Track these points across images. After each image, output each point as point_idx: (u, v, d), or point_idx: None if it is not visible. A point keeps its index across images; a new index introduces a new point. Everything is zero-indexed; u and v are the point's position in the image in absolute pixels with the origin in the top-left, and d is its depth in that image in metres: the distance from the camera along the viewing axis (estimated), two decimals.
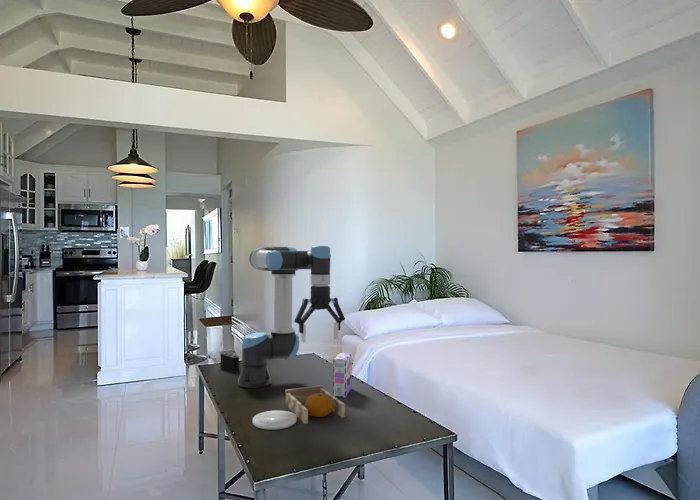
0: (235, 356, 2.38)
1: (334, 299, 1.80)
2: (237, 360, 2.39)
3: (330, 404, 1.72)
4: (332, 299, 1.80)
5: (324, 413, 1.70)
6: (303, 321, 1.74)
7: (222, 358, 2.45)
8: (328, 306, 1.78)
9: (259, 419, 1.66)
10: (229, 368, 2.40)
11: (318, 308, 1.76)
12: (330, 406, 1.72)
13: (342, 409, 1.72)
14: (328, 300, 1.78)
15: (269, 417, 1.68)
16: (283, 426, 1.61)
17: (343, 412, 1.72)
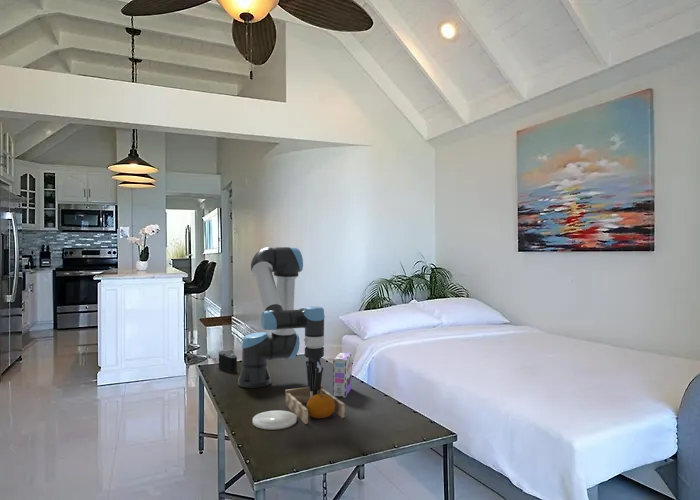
0: (233, 356, 2.37)
1: None
2: (235, 360, 2.38)
3: (332, 405, 1.71)
4: (317, 366, 1.75)
5: (326, 414, 1.69)
6: (310, 385, 1.80)
7: (220, 358, 2.44)
8: (311, 369, 1.78)
9: (259, 419, 1.66)
10: (227, 368, 2.39)
11: (310, 368, 1.80)
12: (332, 407, 1.71)
13: (342, 409, 1.72)
14: (314, 363, 1.76)
15: (269, 417, 1.68)
16: (283, 426, 1.61)
17: (343, 412, 1.72)
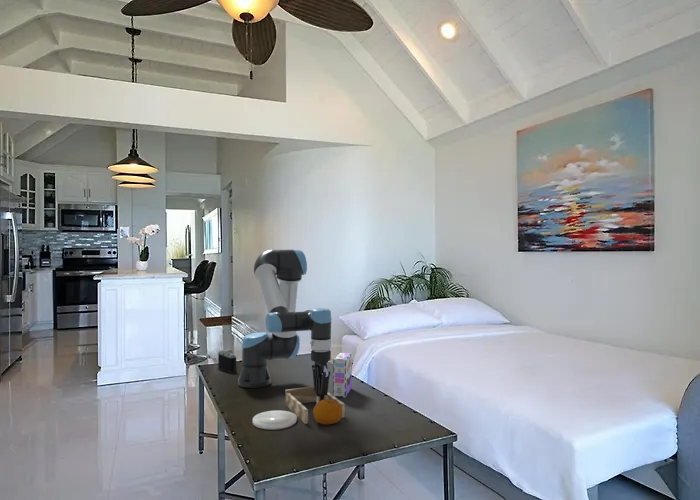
0: (232, 356, 2.37)
1: None
2: (235, 360, 2.38)
3: (340, 411, 1.65)
4: (324, 370, 1.69)
5: (333, 420, 1.63)
6: (316, 390, 1.74)
7: (220, 358, 2.44)
8: (317, 374, 1.71)
9: (259, 419, 1.66)
10: (226, 368, 2.39)
11: None
12: (340, 413, 1.65)
13: (342, 409, 1.72)
14: (321, 367, 1.70)
15: (269, 417, 1.68)
16: (283, 426, 1.61)
17: (343, 412, 1.72)
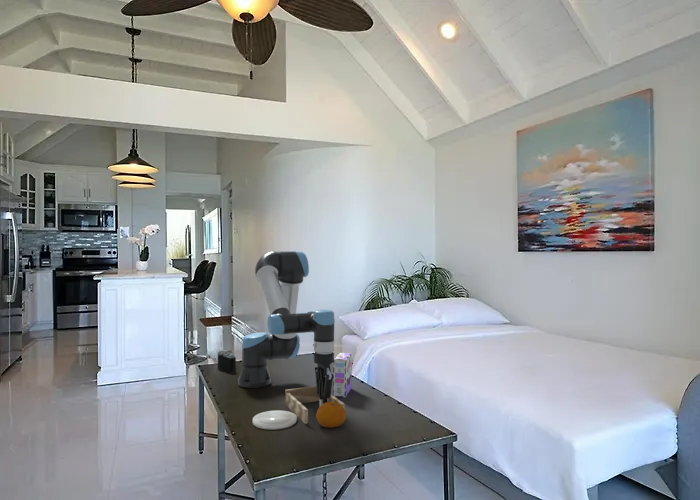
0: (232, 356, 2.37)
1: None
2: (234, 360, 2.38)
3: (343, 413, 1.62)
4: (327, 373, 1.66)
5: (337, 423, 1.60)
6: (319, 393, 1.71)
7: (219, 358, 2.44)
8: (320, 376, 1.69)
9: (259, 419, 1.66)
10: (226, 368, 2.39)
11: None
12: (343, 416, 1.62)
13: None
14: (324, 369, 1.68)
15: (269, 417, 1.68)
16: (283, 426, 1.61)
17: None
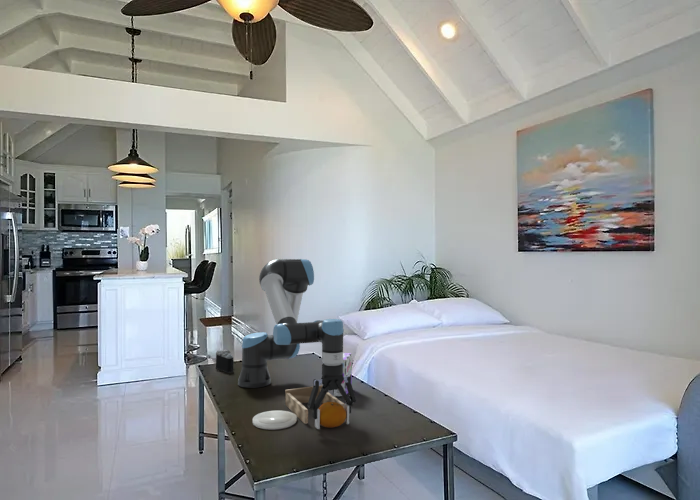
0: (229, 357, 2.37)
1: (347, 378, 1.65)
2: (232, 360, 2.37)
3: (343, 413, 1.62)
4: (345, 378, 1.65)
5: (337, 423, 1.60)
6: (317, 406, 1.60)
7: (217, 358, 2.44)
8: (340, 386, 1.63)
9: (259, 419, 1.66)
10: (224, 369, 2.39)
11: (330, 389, 1.62)
12: (343, 416, 1.62)
13: None
14: (341, 379, 1.64)
15: (269, 417, 1.68)
16: (283, 426, 1.61)
17: None
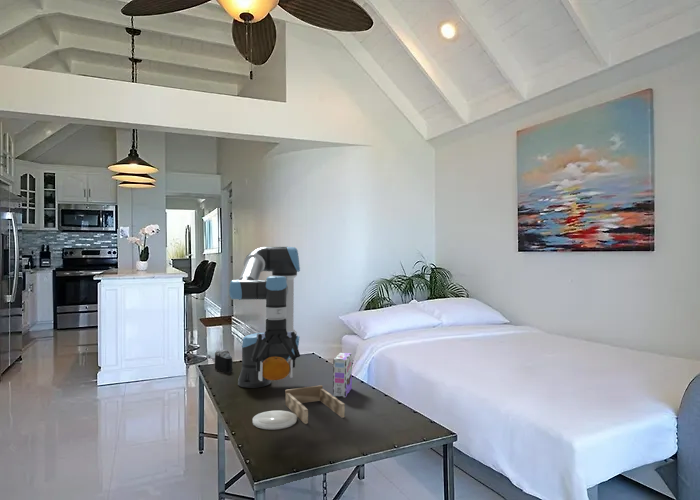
0: (228, 357, 2.36)
1: (291, 333, 1.70)
2: (230, 360, 2.37)
3: (286, 367, 1.67)
4: (289, 333, 1.70)
5: (279, 376, 1.65)
6: (259, 359, 1.65)
7: (216, 359, 2.44)
8: (283, 341, 1.68)
9: (259, 419, 1.66)
10: (222, 369, 2.38)
11: (273, 343, 1.67)
12: (286, 369, 1.67)
13: (342, 409, 1.72)
14: (284, 334, 1.69)
15: (269, 417, 1.68)
16: (283, 426, 1.61)
17: (343, 412, 1.72)
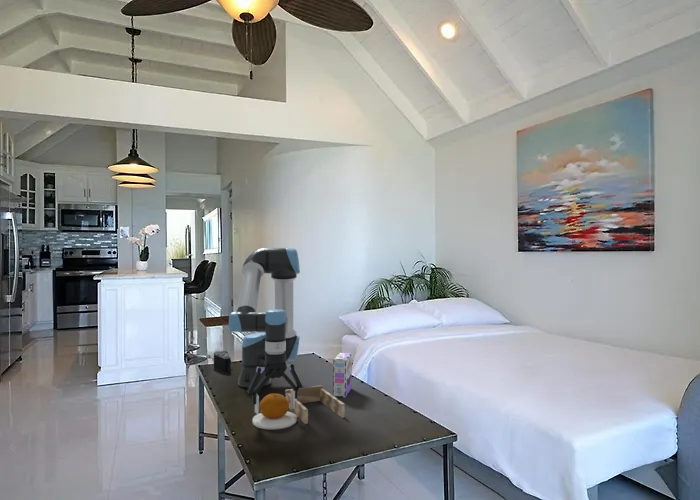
0: (226, 357, 2.36)
1: (290, 366, 1.70)
2: (229, 361, 2.36)
3: (285, 405, 1.67)
4: (288, 366, 1.70)
5: (279, 414, 1.65)
6: (256, 392, 1.64)
7: (215, 359, 2.43)
8: (283, 374, 1.68)
9: (259, 419, 1.66)
10: (221, 369, 2.38)
11: (273, 377, 1.67)
12: (285, 407, 1.67)
13: (342, 409, 1.72)
14: (284, 368, 1.69)
15: None
16: (283, 426, 1.61)
17: (343, 412, 1.72)
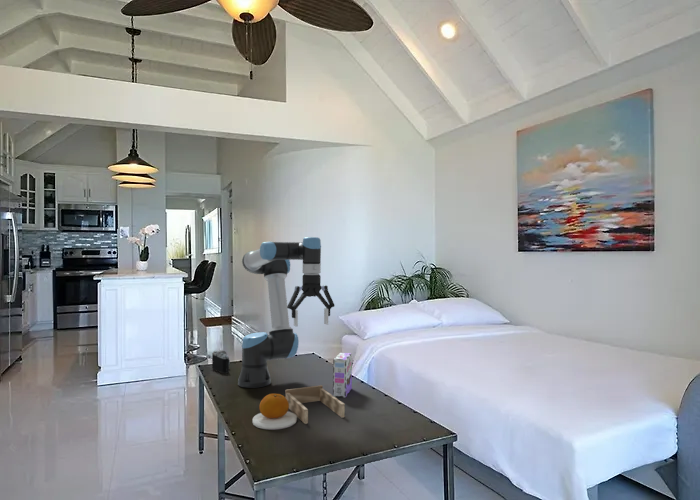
0: (225, 357, 2.35)
1: (324, 287, 1.93)
2: (227, 361, 2.36)
3: (285, 405, 1.67)
4: (322, 287, 1.93)
5: (279, 414, 1.65)
6: (295, 307, 1.87)
7: (213, 359, 2.43)
8: (319, 293, 1.91)
9: (259, 419, 1.66)
10: (219, 369, 2.38)
11: (309, 295, 1.90)
12: (285, 407, 1.67)
13: (342, 409, 1.72)
14: (319, 288, 1.92)
15: None
16: (283, 426, 1.61)
17: (343, 412, 1.72)
